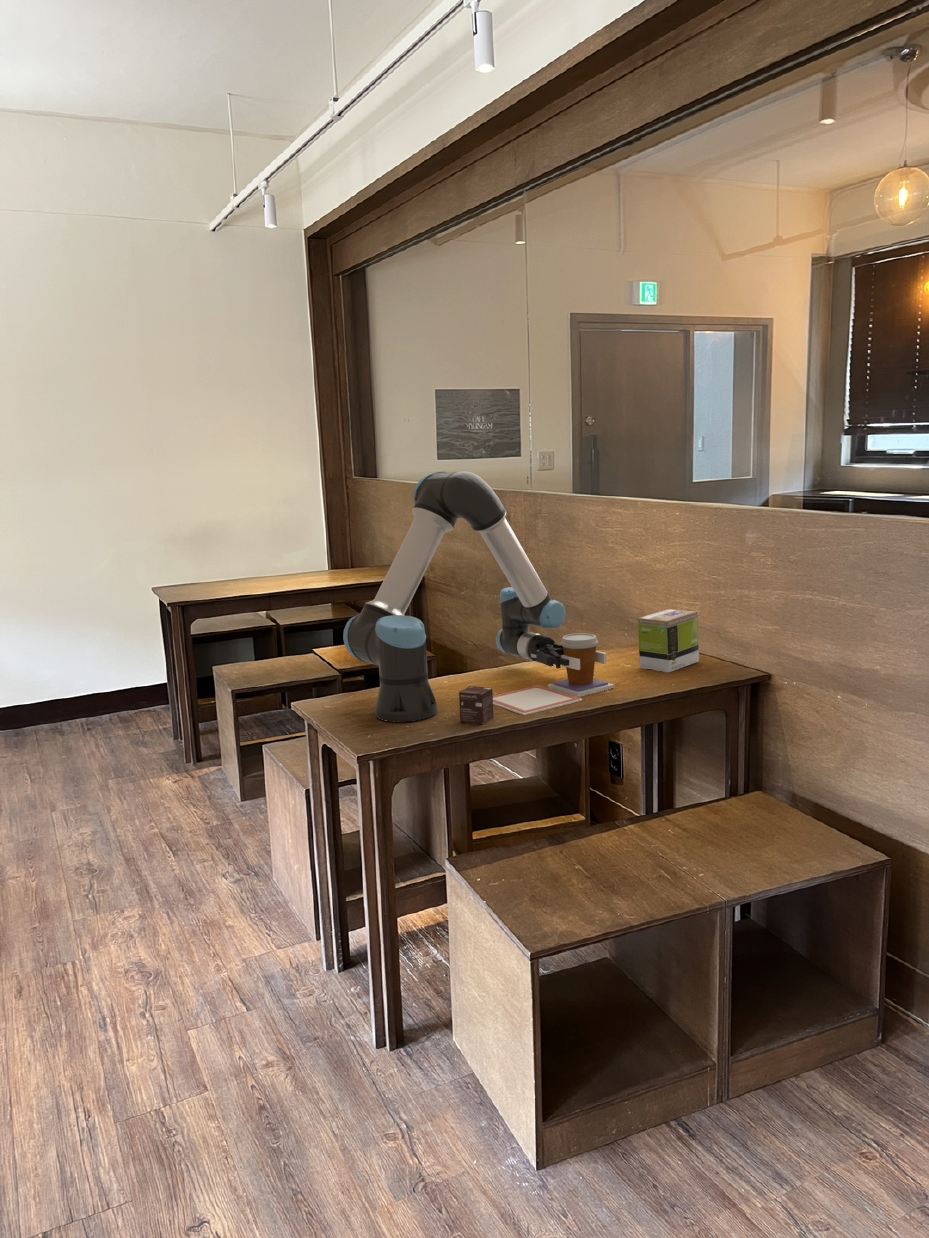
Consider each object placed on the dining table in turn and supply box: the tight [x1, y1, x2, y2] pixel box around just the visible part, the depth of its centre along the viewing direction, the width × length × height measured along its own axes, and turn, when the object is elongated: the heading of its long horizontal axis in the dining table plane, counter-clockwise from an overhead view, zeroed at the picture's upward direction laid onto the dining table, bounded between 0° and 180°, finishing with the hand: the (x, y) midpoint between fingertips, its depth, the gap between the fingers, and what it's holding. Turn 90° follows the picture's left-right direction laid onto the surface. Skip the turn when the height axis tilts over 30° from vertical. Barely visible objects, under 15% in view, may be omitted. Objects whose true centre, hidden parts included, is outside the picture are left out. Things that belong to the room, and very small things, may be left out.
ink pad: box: [547, 677, 615, 698], centre depth 228 cm, size 12×12×2 cm
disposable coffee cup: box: [560, 632, 599, 685], centre depth 227 cm, size 10×10×12 cm
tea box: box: [637, 608, 700, 673], centre depth 245 cm, size 15×10×15 cm
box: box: [458, 685, 494, 725], centre depth 206 cm, size 6×6×7 cm
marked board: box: [493, 684, 583, 716], centre depth 220 cm, size 18×18×1 cm
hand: (592, 661), depth 223 cm, fingers closed on disposable coffee cup, 8 cm apart
